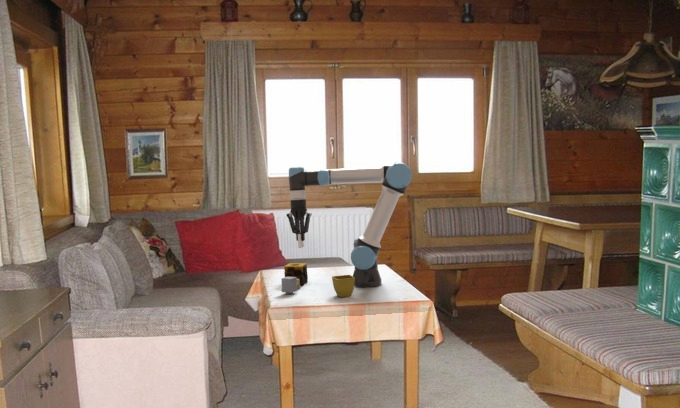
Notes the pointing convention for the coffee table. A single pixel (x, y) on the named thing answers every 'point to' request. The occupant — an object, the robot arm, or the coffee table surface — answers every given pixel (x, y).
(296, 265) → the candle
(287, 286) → the grey matte cube
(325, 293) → the coffee table surface
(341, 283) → the flower pot
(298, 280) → the oak post
